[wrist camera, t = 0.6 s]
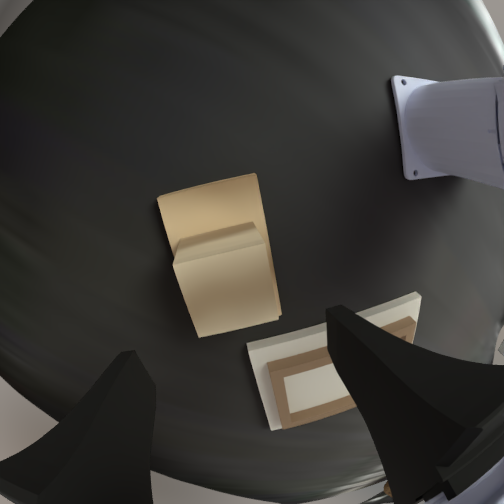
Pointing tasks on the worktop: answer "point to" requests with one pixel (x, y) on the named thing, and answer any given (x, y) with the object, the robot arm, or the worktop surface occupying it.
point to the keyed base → (316, 366)
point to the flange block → (222, 254)
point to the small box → (501, 348)
